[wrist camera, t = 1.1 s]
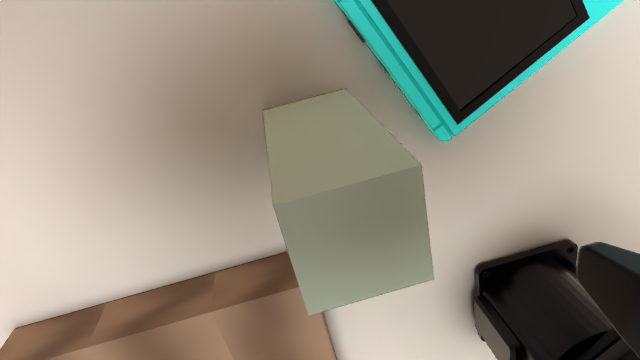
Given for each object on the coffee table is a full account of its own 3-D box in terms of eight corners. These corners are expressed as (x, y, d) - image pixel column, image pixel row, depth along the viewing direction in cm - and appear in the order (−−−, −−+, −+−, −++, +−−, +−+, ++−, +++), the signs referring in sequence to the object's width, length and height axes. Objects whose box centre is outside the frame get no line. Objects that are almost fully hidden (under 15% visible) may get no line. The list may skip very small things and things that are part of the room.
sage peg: (346, 88, 18) (421, 164, 10) (360, 164, 20) (434, 279, 12) (262, 110, 18) (272, 205, 10) (284, 185, 20) (308, 315, 12)
